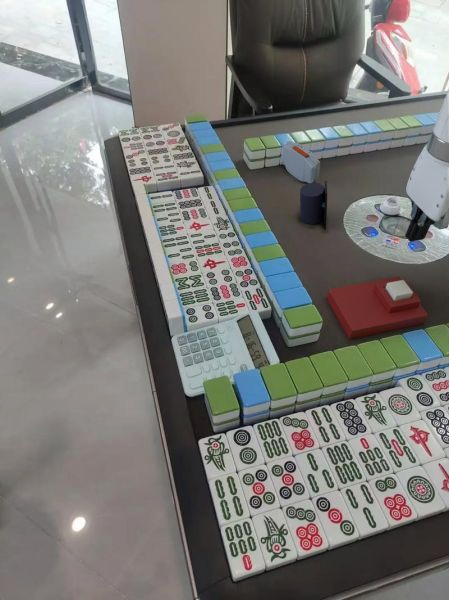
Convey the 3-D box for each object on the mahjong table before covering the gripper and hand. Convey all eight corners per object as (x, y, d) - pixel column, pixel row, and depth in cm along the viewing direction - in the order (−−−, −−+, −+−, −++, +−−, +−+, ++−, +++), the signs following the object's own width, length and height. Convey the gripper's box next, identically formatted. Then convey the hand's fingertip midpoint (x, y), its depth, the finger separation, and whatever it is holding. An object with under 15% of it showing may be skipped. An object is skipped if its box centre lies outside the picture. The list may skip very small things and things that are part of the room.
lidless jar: (400, 216, 109) (397, 205, 112) (404, 207, 106) (401, 195, 110) (380, 215, 109) (377, 203, 112) (384, 205, 107) (381, 194, 110)
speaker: (333, 216, 108) (336, 180, 100) (325, 229, 105) (329, 193, 97) (304, 210, 111) (305, 174, 103) (296, 223, 108) (297, 187, 100)
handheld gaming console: (318, 186, 117) (323, 159, 112) (310, 189, 116) (315, 162, 110) (286, 162, 126) (289, 136, 120) (278, 165, 125) (280, 139, 119)
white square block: (400, 285, 87) (403, 279, 85) (410, 298, 84) (413, 292, 83) (384, 288, 86) (387, 282, 85) (393, 301, 84) (396, 295, 82)
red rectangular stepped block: (395, 285, 92) (401, 270, 89) (423, 323, 85) (431, 309, 82) (326, 298, 90) (330, 283, 86) (349, 339, 83) (354, 324, 79)
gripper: (507, 168, 62) (456, 261, 76) (446, 121, 72) (410, 211, 86) (462, 175, 61) (418, 268, 75) (406, 126, 71) (376, 217, 84)
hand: (414, 237), depth 80 cm, fingers closed
